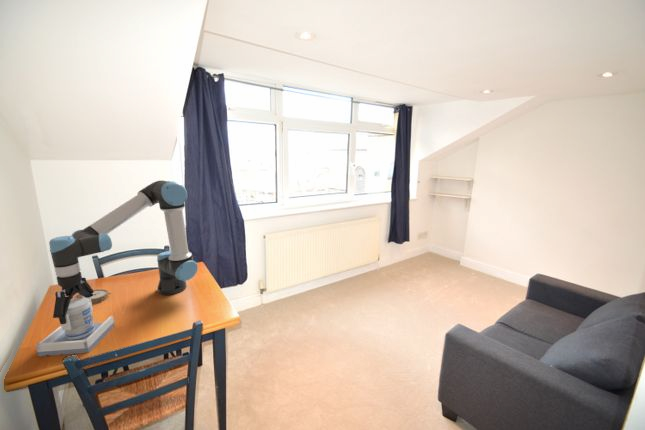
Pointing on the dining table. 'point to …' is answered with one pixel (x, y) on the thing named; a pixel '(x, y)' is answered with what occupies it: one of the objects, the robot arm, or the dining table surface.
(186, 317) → the dining table surface
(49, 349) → the dock
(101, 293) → the alarm clock
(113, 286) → the dining table surface
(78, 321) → the supplement tub
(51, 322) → the dining table surface
